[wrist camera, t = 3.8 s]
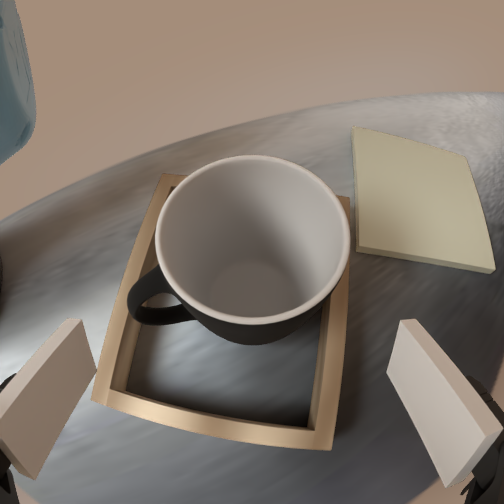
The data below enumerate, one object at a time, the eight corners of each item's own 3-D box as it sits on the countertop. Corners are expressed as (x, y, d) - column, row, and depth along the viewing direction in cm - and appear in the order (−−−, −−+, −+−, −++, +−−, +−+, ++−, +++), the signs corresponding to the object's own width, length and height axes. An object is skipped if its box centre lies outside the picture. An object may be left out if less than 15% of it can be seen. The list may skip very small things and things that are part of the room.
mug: (282, 230, 25) (297, 137, 16) (332, 329, 22) (387, 275, 13) (142, 280, 23) (85, 206, 14) (176, 391, 19) (117, 380, 10)
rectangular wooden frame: (108, 401, 19) (90, 399, 16) (169, 193, 27) (162, 173, 25) (321, 444, 18) (331, 450, 15) (341, 217, 26) (349, 197, 23)
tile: (355, 251, 24) (359, 245, 24) (350, 132, 31) (352, 126, 30) (489, 274, 23) (495, 269, 22) (461, 162, 30) (465, 157, 29)
